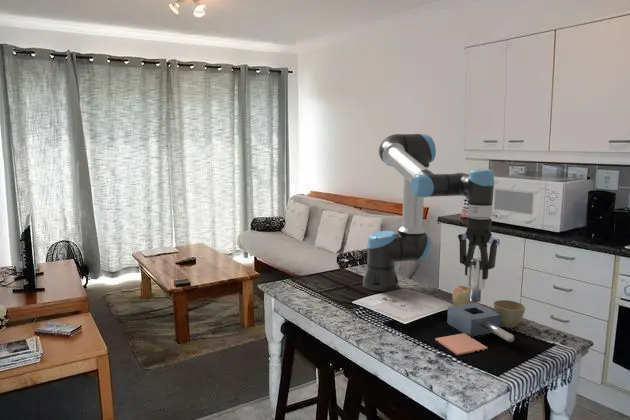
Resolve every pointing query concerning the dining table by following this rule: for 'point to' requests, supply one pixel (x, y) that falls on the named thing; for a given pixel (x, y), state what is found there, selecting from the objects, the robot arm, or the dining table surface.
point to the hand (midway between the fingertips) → (475, 286)
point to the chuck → (476, 321)
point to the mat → (461, 344)
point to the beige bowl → (509, 312)
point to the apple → (461, 296)
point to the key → (475, 280)
